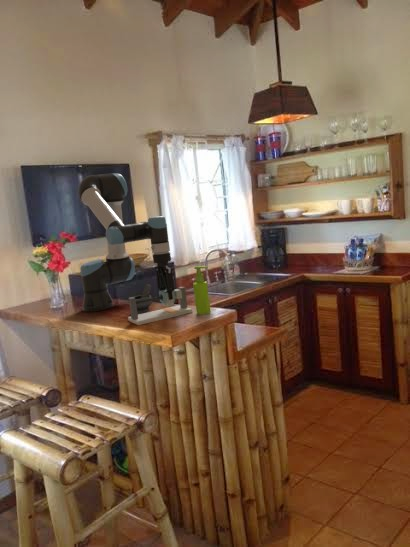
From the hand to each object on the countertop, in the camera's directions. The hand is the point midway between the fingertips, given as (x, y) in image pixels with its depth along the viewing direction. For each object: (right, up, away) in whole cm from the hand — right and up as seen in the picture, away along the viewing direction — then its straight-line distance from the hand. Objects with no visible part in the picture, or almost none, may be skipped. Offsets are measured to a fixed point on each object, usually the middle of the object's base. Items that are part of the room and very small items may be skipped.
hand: (168, 305), depth 217 cm
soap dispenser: (+16, -3, -5) cm, 17 cm away
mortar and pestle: (-12, -4, +12) cm, 18 cm away
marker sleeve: (0, +2, 0) cm, 2 cm away
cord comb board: (-3, -4, -1) cm, 6 cm away
